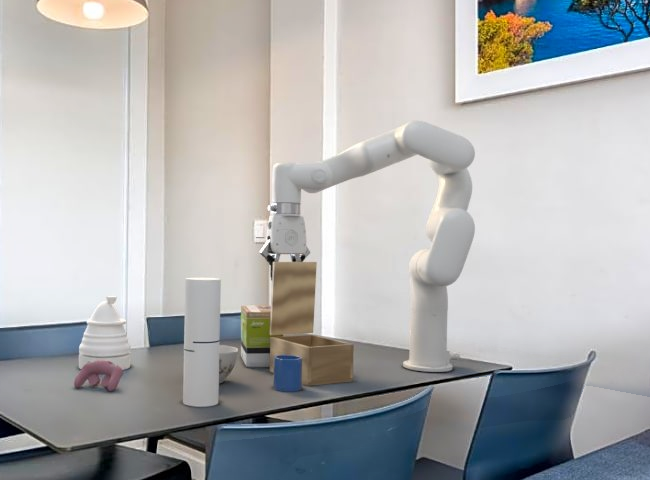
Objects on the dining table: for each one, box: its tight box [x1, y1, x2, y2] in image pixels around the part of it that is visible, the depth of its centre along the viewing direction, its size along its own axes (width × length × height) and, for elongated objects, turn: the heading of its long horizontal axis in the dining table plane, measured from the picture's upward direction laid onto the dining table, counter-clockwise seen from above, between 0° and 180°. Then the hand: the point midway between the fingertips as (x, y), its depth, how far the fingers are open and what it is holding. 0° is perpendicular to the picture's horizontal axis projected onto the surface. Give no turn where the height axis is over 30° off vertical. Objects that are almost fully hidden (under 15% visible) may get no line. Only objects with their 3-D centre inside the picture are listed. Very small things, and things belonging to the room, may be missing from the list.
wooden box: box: [269, 334, 355, 387], centre depth 164 cm, size 18×13×9 cm
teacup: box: [219, 344, 239, 384], centre depth 157 cm, size 15×12×8 cm
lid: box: [270, 261, 318, 336], centre depth 173 cm, size 18×13×5 cm
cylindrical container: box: [182, 277, 222, 408], centre depth 136 cm, size 7×7×25 cm
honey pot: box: [78, 295, 131, 371], centre depth 172 cm, size 13×13×18 cm
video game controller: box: [73, 360, 124, 392], centre depth 148 cm, size 10×5×7 cm, turn 71°
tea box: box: [240, 304, 284, 368], centre depth 182 cm, size 15×10×15 cm, turn 6°
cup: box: [272, 355, 303, 393], centre depth 151 cm, size 6×6×7 cm
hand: (284, 280), depth 175 cm, fingers closed on lid, 5 cm apart
